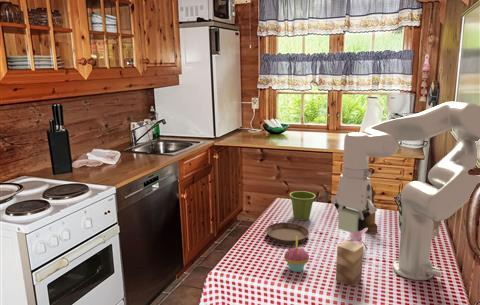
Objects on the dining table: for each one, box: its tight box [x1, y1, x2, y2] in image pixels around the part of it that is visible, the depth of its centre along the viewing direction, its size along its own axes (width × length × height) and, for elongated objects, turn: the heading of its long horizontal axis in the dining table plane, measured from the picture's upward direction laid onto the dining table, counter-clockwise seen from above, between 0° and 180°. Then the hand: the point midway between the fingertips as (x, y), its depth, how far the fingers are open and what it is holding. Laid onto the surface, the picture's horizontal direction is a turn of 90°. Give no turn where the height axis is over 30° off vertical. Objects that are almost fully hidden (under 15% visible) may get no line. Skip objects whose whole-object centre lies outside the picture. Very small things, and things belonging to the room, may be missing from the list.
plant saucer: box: [265, 222, 310, 245], centre depth 161 cm, size 18×18×3 cm
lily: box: [348, 228, 368, 250], centre depth 149 cm, size 12×12×10 cm
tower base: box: [335, 262, 363, 287], centre depth 128 cm, size 6×6×6 cm
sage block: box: [337, 207, 360, 234], centre depth 124 cm, size 6×6×6 cm
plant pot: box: [289, 190, 316, 221], centre depth 180 cm, size 12×12×11 cm
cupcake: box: [283, 236, 310, 273], centre depth 134 cm, size 9×8×12 cm
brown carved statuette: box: [365, 189, 379, 234], centre depth 165 cm, size 7×6×18 cm
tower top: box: [336, 239, 365, 269], centre depth 127 cm, size 6×6×6 cm
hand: (351, 226), depth 124 cm, fingers closed on sage block, 6 cm apart
